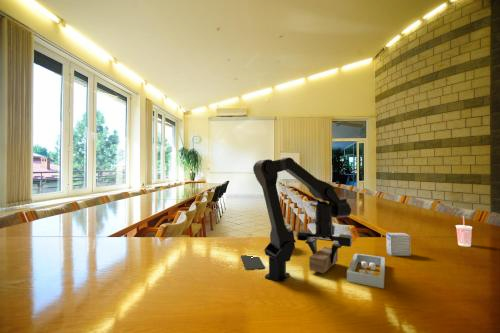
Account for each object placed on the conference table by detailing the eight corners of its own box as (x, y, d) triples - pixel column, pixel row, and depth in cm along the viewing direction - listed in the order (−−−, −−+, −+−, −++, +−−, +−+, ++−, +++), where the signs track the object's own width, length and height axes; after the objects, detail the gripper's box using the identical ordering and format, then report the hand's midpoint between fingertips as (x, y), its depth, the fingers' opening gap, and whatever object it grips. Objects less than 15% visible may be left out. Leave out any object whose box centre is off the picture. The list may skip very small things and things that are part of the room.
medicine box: (405, 253, 108) (405, 232, 108) (411, 256, 104) (410, 235, 104) (386, 252, 109) (385, 232, 109) (391, 256, 104) (390, 235, 105)
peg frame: (383, 288, 75) (383, 278, 75) (346, 281, 80) (346, 271, 80) (384, 265, 94) (384, 257, 94) (354, 260, 99) (354, 253, 99)
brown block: (323, 273, 83) (323, 259, 84) (309, 270, 86) (309, 256, 86) (337, 260, 95) (337, 248, 96) (324, 258, 98) (324, 246, 99)
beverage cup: (453, 244, 121) (452, 215, 122) (460, 242, 124) (459, 214, 124) (468, 247, 116) (467, 217, 116) (475, 246, 118) (474, 216, 119)
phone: (245, 269, 89) (240, 255, 104) (245, 271, 89) (240, 257, 104) (265, 267, 91) (257, 254, 105) (265, 270, 91) (257, 256, 105)
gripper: (354, 217, 94) (354, 259, 93) (305, 213, 103) (305, 251, 103) (349, 222, 84) (350, 269, 84) (296, 217, 93) (296, 259, 93)
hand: (324, 261), depth 91 cm, fingers closed on brown block, 5 cm apart
